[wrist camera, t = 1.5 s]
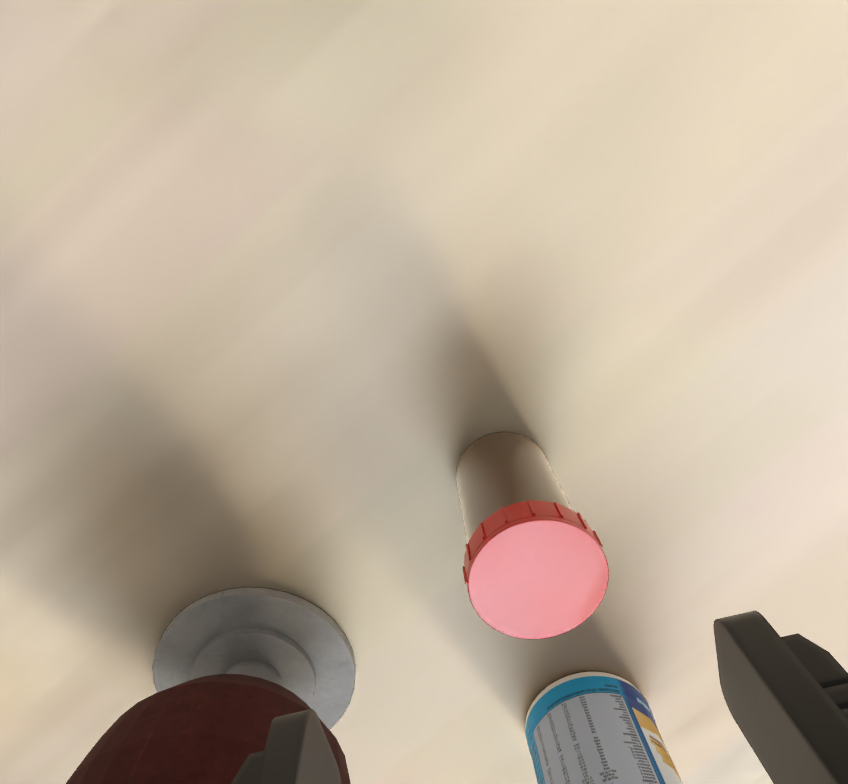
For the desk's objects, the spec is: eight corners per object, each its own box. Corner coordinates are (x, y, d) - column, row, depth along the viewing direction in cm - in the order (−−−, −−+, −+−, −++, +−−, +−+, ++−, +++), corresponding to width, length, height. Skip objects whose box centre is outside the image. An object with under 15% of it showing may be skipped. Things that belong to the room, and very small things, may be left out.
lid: (455, 610, 28) (458, 635, 26) (472, 494, 26) (477, 513, 24) (584, 619, 28) (594, 644, 27) (610, 504, 26) (623, 524, 25)
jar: (450, 511, 35) (467, 623, 26) (461, 427, 34) (483, 516, 25) (539, 518, 36) (585, 630, 27) (555, 435, 34) (609, 526, 25)
